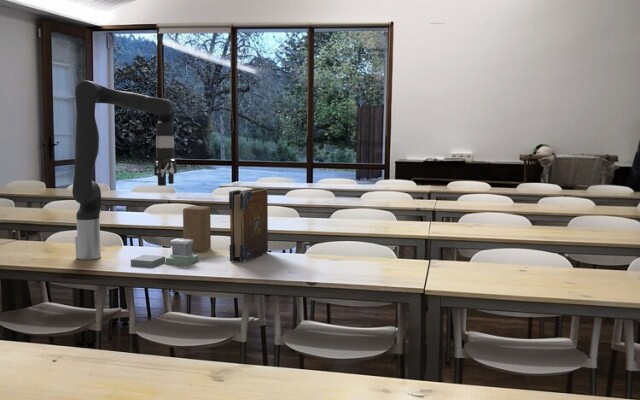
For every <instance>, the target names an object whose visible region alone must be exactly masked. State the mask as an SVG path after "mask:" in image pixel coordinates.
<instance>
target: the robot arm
mask: <svg viewBox="0 0 640 400" xmlns="http://www.w3.org/2000/svg"><path fill="white" fill-rule="evenodd" d="M74 90H75V92H74V93H75V94H74V95H75V106H76V119H75V120H76V121H75V122H76V123H75V125H76V126H75V140H74V141H75V145H74V147H75V149H74V150H75V153H74V154H75V156H74V157H75V158H74V175H73V176H74V177H73V183H72V190H71V192H72V197H73V199H74V200H75V202H76V203H78V204H79V208H78V210H77V212H76V214H75V215H76V216H75V217H76V236H75V237H74V239H75V241H74V242H75V259H78V260H80V261H81V260H82V261H83V260H84V261H85V260H87V261H90V260H97V259H100V258H101V257H102V254H101V253H102V251H101V227H100V226H101V225H100V223H101V221H100V214H101V212H102V191H101V187H100V185H99V184H98V183H97V182H95V181H94V180H93V170H94V166H95V165H96V161H97V158H98V155H99V150H100V149H99V148H100V142H99V141H100V135H99V128H98V125H97V121H96V114H95V113H96V104H108V105H115V106H118V107H120V108H121V107H122V108H125V109H129V110H133V111H137V112H144V113H150V114H153V115H156V116H157V123H156V126H155V129H156V130H155V131H156V132H155V134H156V136H155V137H156V138H155V156H156V159H158V160H155V161H154V163H153V168H154V169H153V171H154V173H153V175H154V176H156V177H157V185H158V186H159V187H161V186H164V174H165V173H166V172H167V175H168V177H167V179H168V180H167V182H168V184H170V185H173V184H174V183H175V182H174V177H175V176H174V175H175V174H177V172H178V171H177V160H176V159H174V158H175V139H174V119H175V106H174V103H173V102H172V101H171V100H170V99H167V98H160V97H155V96H154V97H153V96H149V95H146V94H141V93H137V92H131V91H125V90H124V91H122V90H117V89H113V88H109V87H107V86H103V85H102V84H98V82H95V81H90V80H82V81H79V83H77V85H76V87H75V89H74Z"/></svg>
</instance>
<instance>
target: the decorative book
mask: <svg viewBox="0 0 640 400" xmlns="http://www.w3.org/2000/svg"><path fill="white" fill-rule="evenodd" d="M268 194H269V190H268V188H262V187H260V188H258V187H256V188H250V189H245V190H241V189H235V190H229V191H228V209H229V213H230V214H229V221H230V222H229V225H230V227H229V231H230V232H229V233H230V234H229V235H230V244H229V262H230V261H234V262H237V261H239V260H240V263H241V262H242V263H241V264H245V263H248V262H251V261H252V260H253V259H254V258H257V257H260V256H263V255H265V254H268V253H269V249H268V248H269V245H268V243H269V241H268V239H269V235H268V234H269V232H268V231H269V230H268V229H269V227H268V226H269V224H268V223H269V222H268V220H269V217H268V215H269V213H268V207H269V206H268V202H269V201H268V197H269V195H268ZM238 259H239V260H238ZM236 260H237V261H236ZM247 261H248V262H247Z"/></svg>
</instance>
